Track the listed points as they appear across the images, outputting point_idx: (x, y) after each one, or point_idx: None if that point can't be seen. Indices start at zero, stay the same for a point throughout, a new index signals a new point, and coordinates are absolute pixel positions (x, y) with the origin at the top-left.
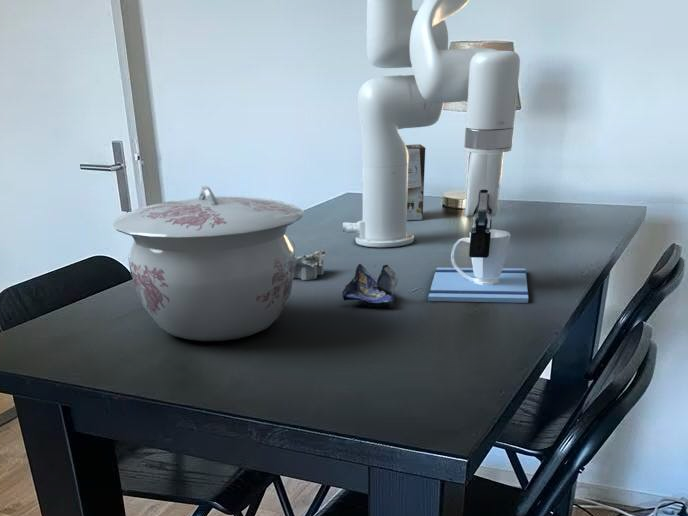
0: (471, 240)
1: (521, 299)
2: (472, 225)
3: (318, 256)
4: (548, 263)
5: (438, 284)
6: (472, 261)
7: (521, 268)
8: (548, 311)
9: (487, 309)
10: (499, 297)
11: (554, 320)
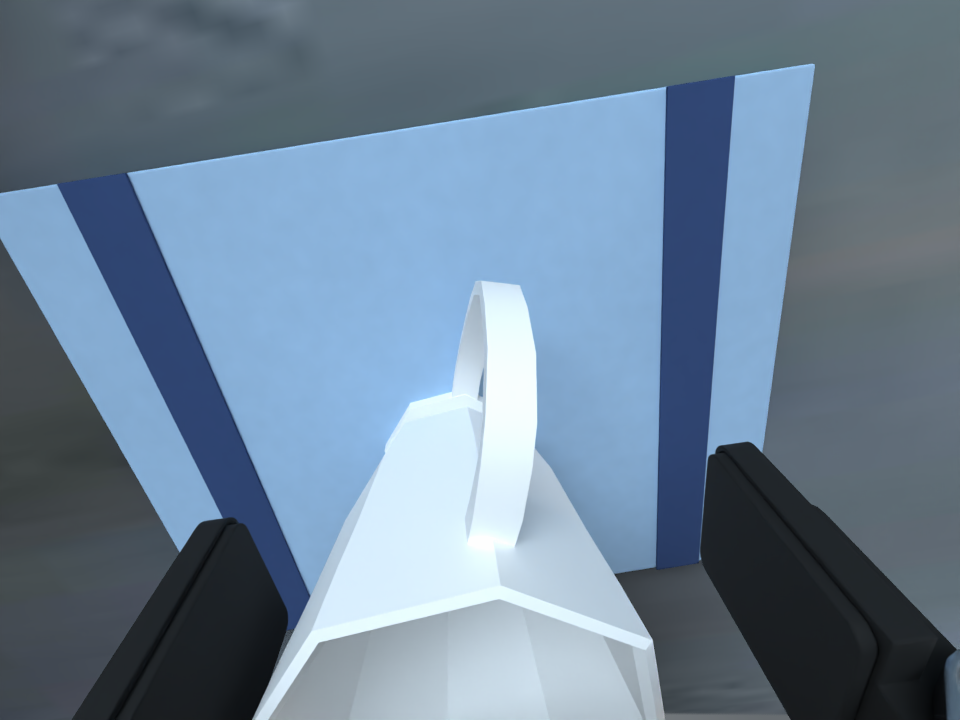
0: (120, 662)
1: None
2: (830, 574)
3: None
4: (900, 583)
5: (315, 196)
6: (387, 463)
7: None
8: None
9: (51, 511)
10: (180, 550)
11: (55, 708)
